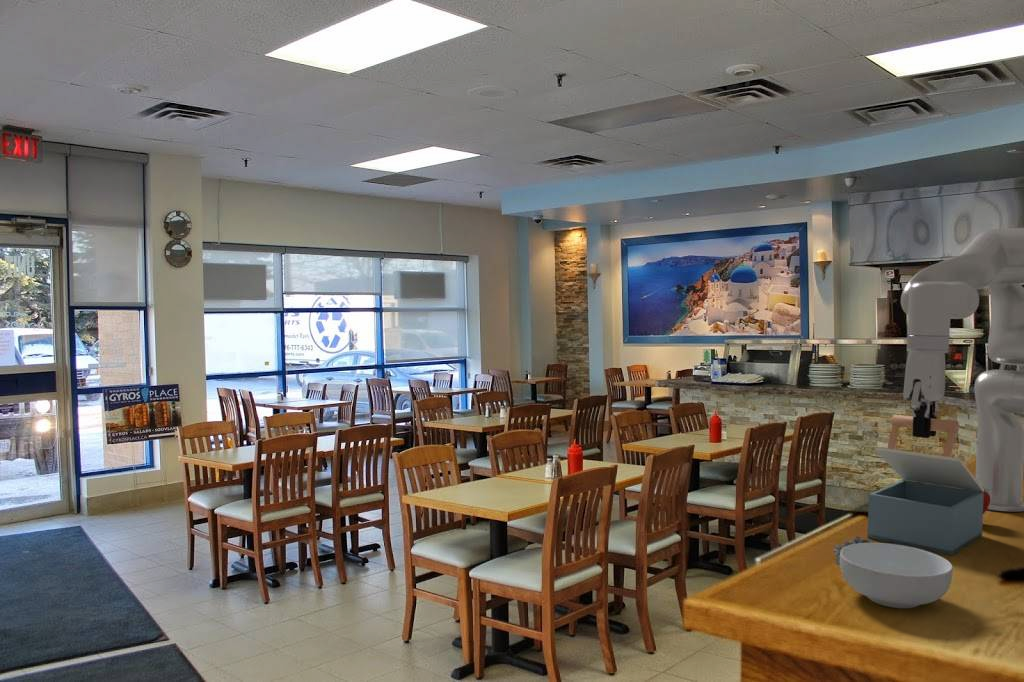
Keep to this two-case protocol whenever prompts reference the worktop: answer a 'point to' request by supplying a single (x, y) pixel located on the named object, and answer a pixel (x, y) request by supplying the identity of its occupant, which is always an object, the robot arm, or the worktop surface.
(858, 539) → the egg carton
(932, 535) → the carton
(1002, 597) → the worktop surface
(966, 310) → the robot arm
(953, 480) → the flap
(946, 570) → the cereal bowl
